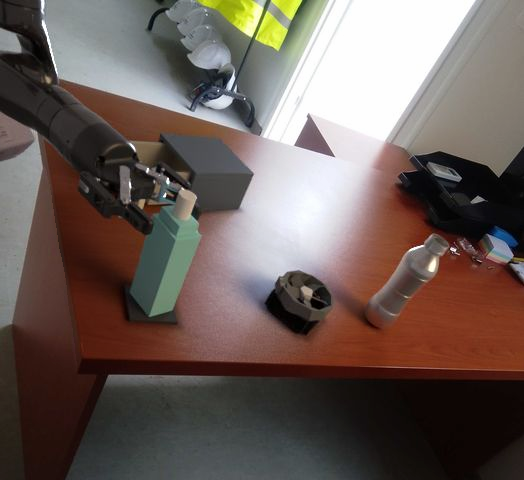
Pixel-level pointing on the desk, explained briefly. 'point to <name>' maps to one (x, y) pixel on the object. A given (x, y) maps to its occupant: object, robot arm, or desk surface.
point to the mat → (140, 316)
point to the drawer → (151, 156)
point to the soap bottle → (166, 256)
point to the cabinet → (211, 170)
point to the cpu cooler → (300, 300)
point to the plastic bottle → (405, 282)
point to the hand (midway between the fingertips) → (175, 222)
